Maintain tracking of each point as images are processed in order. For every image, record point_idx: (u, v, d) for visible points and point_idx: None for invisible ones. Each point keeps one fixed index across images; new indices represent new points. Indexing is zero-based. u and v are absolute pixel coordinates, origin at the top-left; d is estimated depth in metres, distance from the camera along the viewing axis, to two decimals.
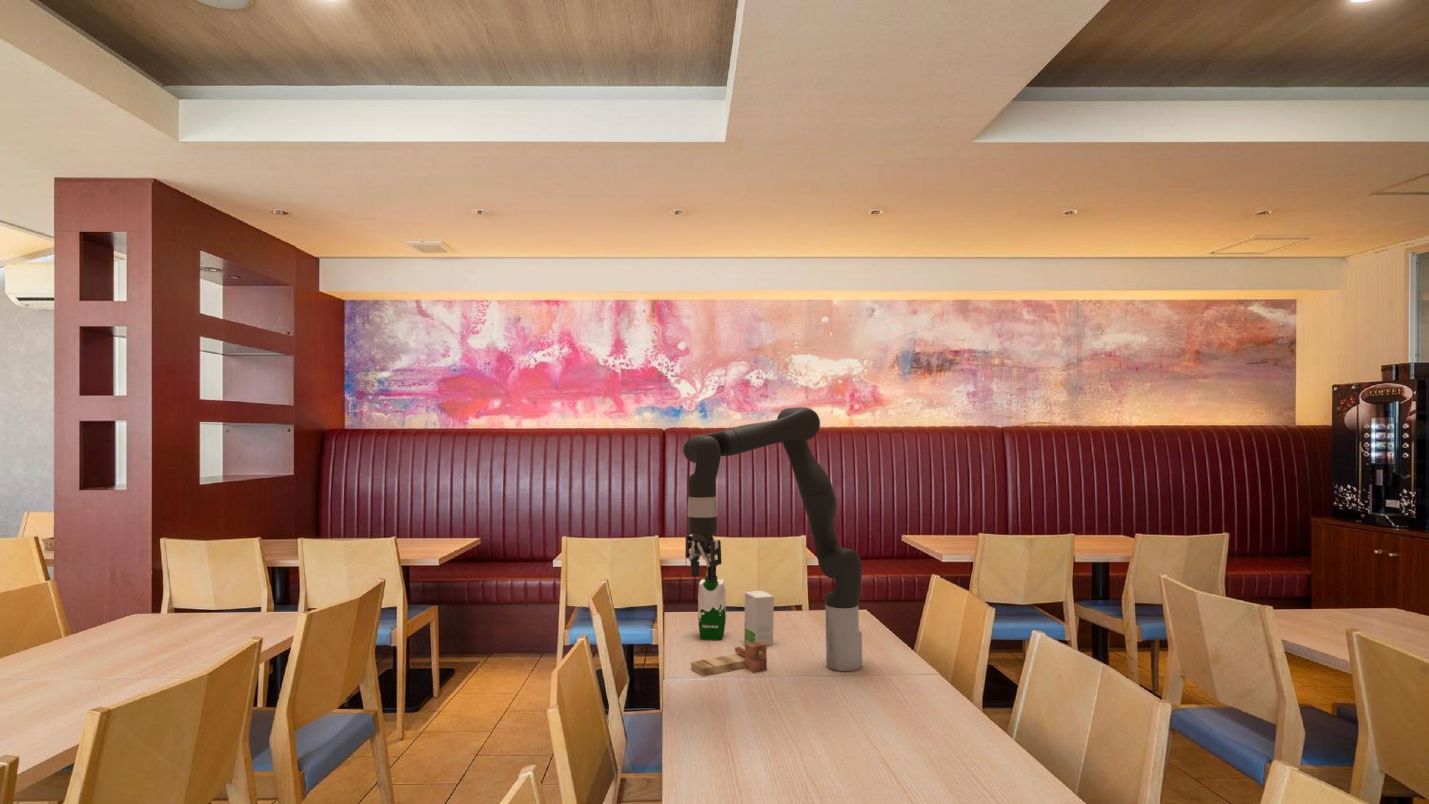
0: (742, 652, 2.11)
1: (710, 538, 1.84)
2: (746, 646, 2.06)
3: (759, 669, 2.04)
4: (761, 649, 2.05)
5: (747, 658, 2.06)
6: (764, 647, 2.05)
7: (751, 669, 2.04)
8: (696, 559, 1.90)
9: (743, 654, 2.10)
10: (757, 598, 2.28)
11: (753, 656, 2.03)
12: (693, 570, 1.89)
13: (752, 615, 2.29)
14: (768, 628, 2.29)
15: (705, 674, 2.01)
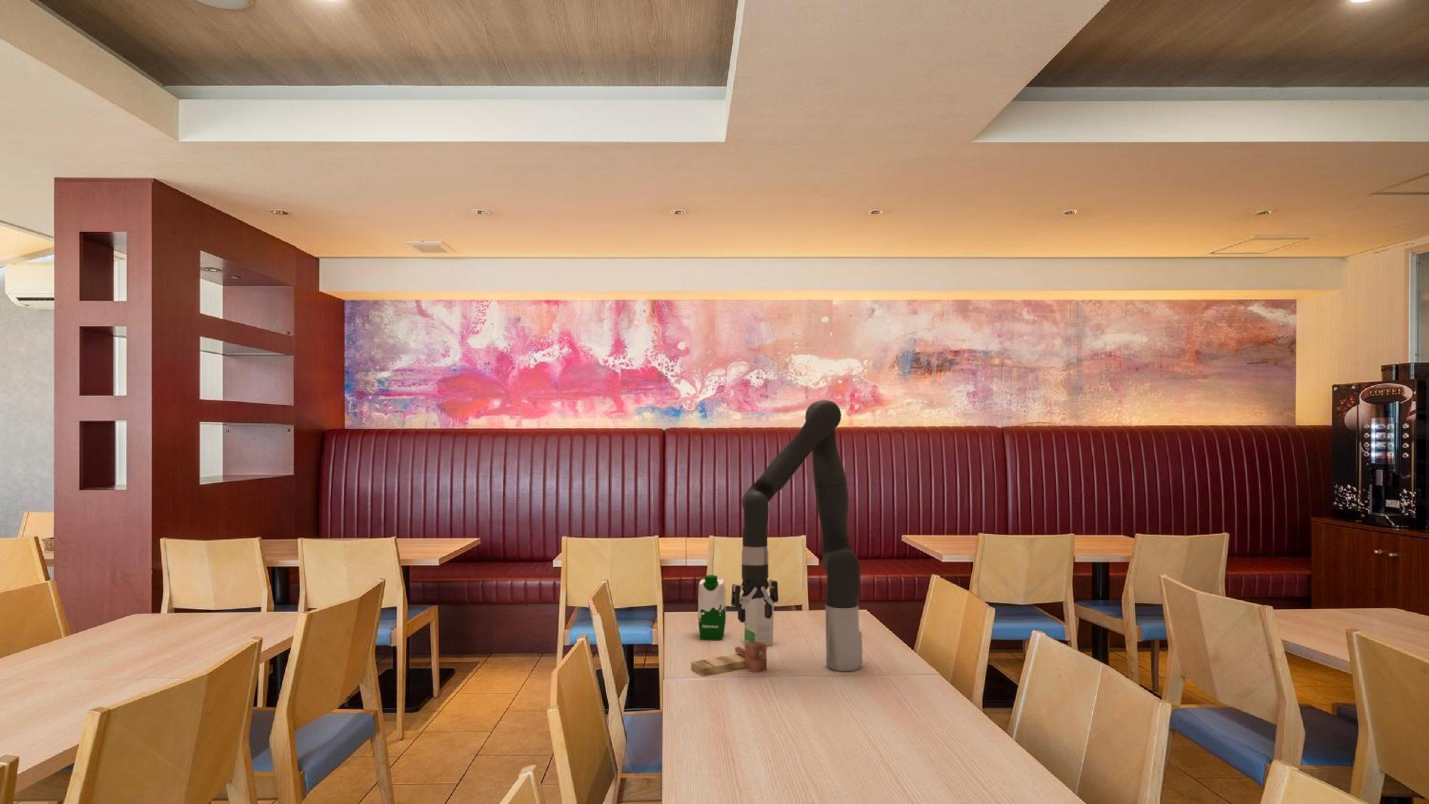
0: (742, 652, 2.11)
1: None
2: (746, 646, 2.06)
3: (759, 669, 2.04)
4: (761, 649, 2.05)
5: (747, 658, 2.06)
6: (764, 647, 2.05)
7: (751, 669, 2.04)
8: None
9: (743, 654, 2.10)
10: (757, 598, 2.28)
11: (753, 656, 2.03)
12: None
13: (752, 615, 2.29)
14: (768, 628, 2.29)
15: (705, 674, 2.01)
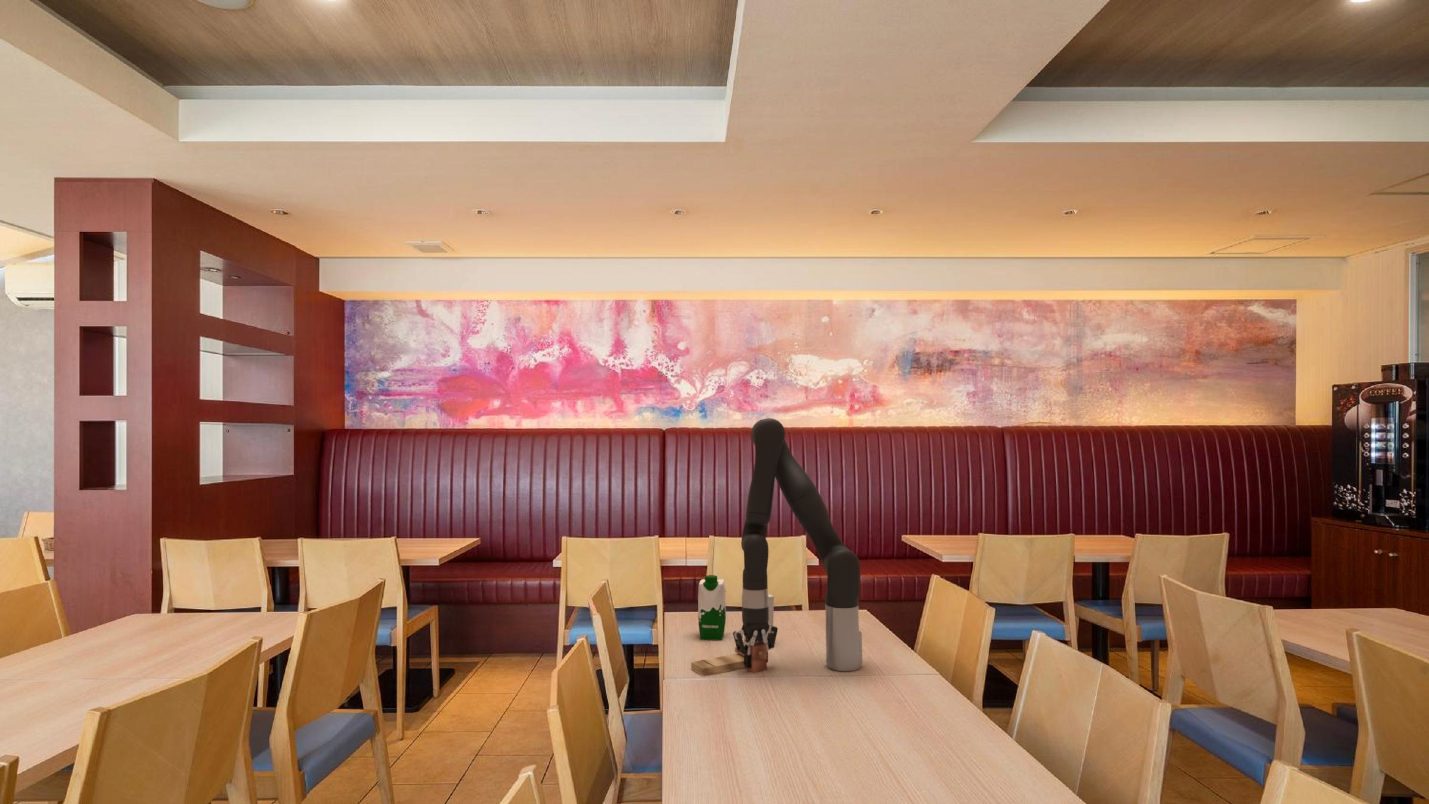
0: None
1: None
2: None
3: (759, 669, 2.04)
4: (761, 649, 2.05)
5: None
6: (764, 647, 2.05)
7: (751, 669, 2.04)
8: None
9: (743, 654, 2.10)
10: None
11: (753, 656, 2.03)
12: None
13: None
14: None
15: (705, 674, 2.01)
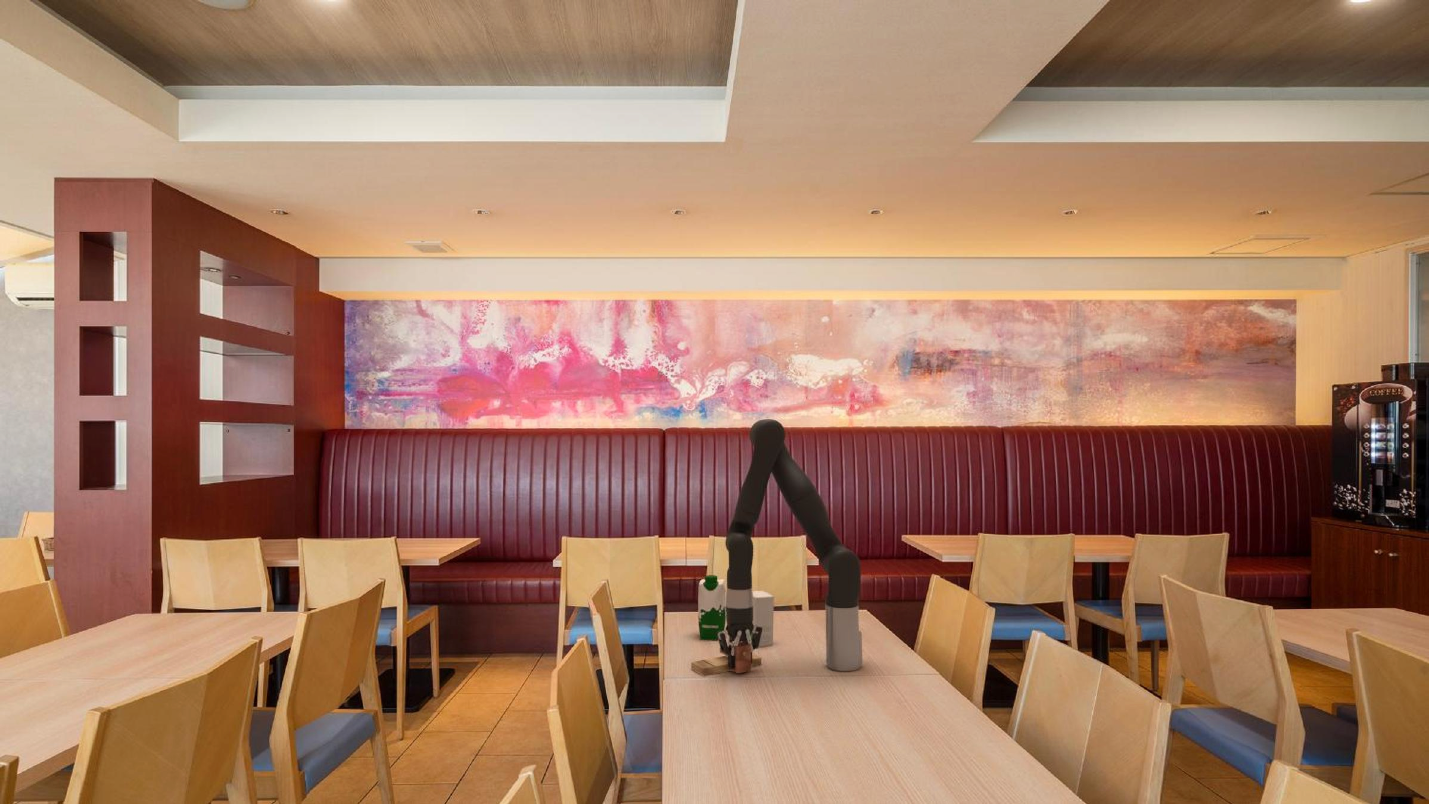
0: None
1: None
2: None
3: (743, 669, 2.02)
4: (745, 649, 2.02)
5: None
6: (748, 648, 2.03)
7: (735, 669, 2.02)
8: None
9: (727, 654, 2.08)
10: (757, 598, 2.28)
11: (737, 657, 2.01)
12: None
13: None
14: (768, 628, 2.29)
15: (705, 674, 2.01)
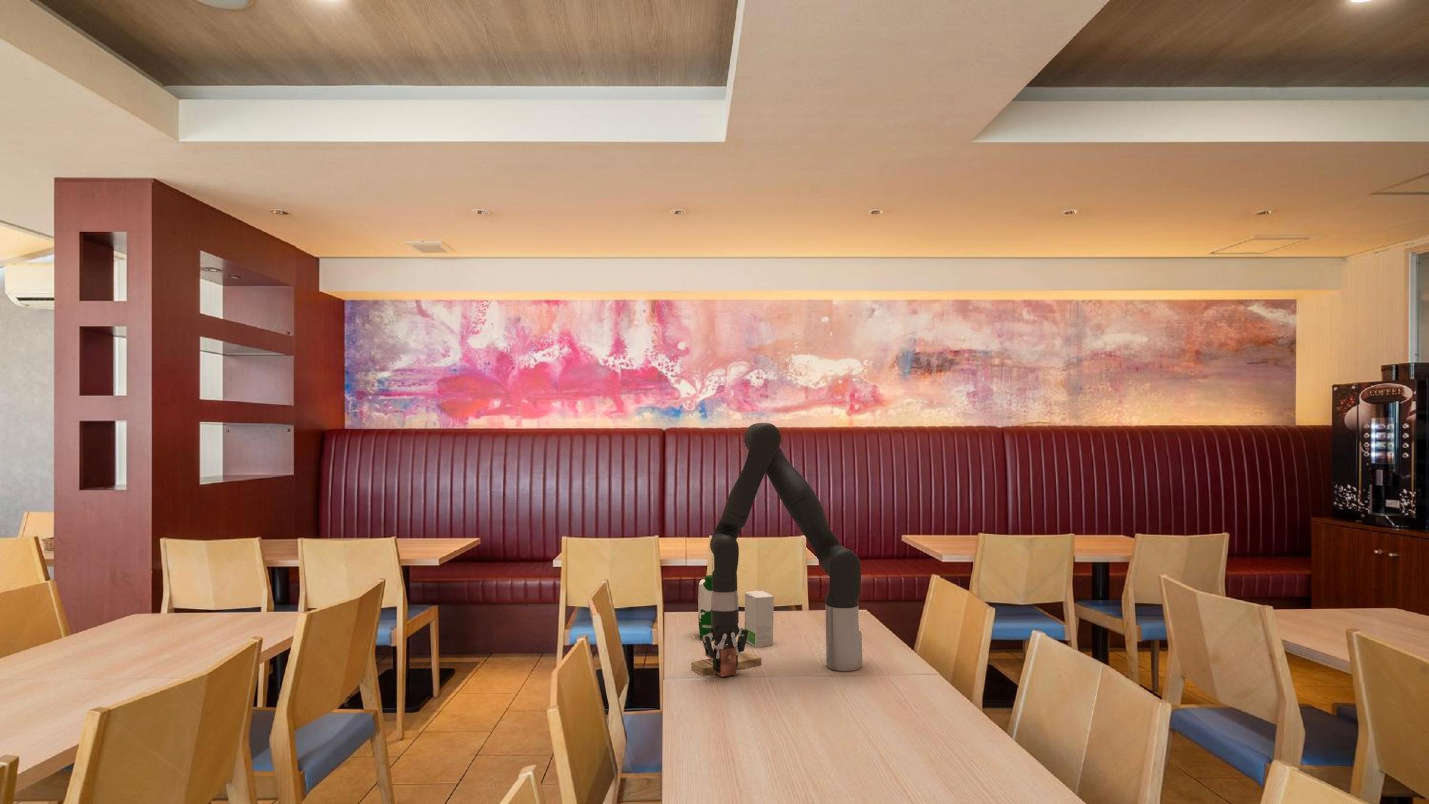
0: None
1: None
2: None
3: (728, 673, 1.99)
4: (730, 652, 2.00)
5: None
6: (733, 651, 2.00)
7: (720, 673, 1.99)
8: None
9: None
10: (757, 598, 2.28)
11: (722, 660, 1.98)
12: None
13: (752, 615, 2.29)
14: (768, 628, 2.29)
15: (705, 674, 2.01)
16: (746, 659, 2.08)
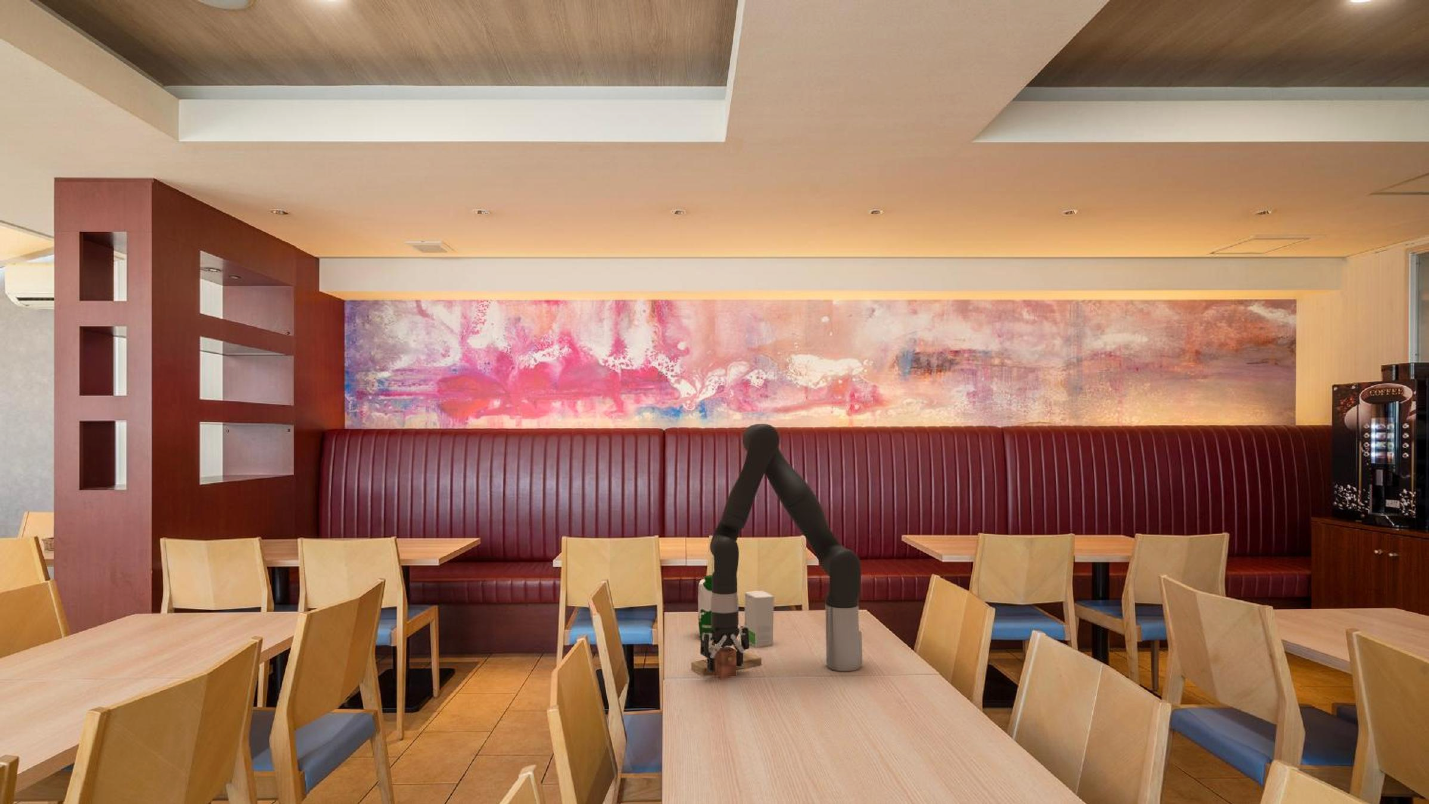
0: None
1: None
2: None
3: (728, 675, 1.99)
4: (731, 655, 2.00)
5: (716, 664, 2.01)
6: (733, 653, 2.00)
7: (720, 675, 1.99)
8: None
9: None
10: (757, 598, 2.28)
11: (722, 662, 1.98)
12: None
13: (752, 615, 2.29)
14: (768, 628, 2.29)
15: (705, 674, 2.01)
16: (746, 659, 2.08)
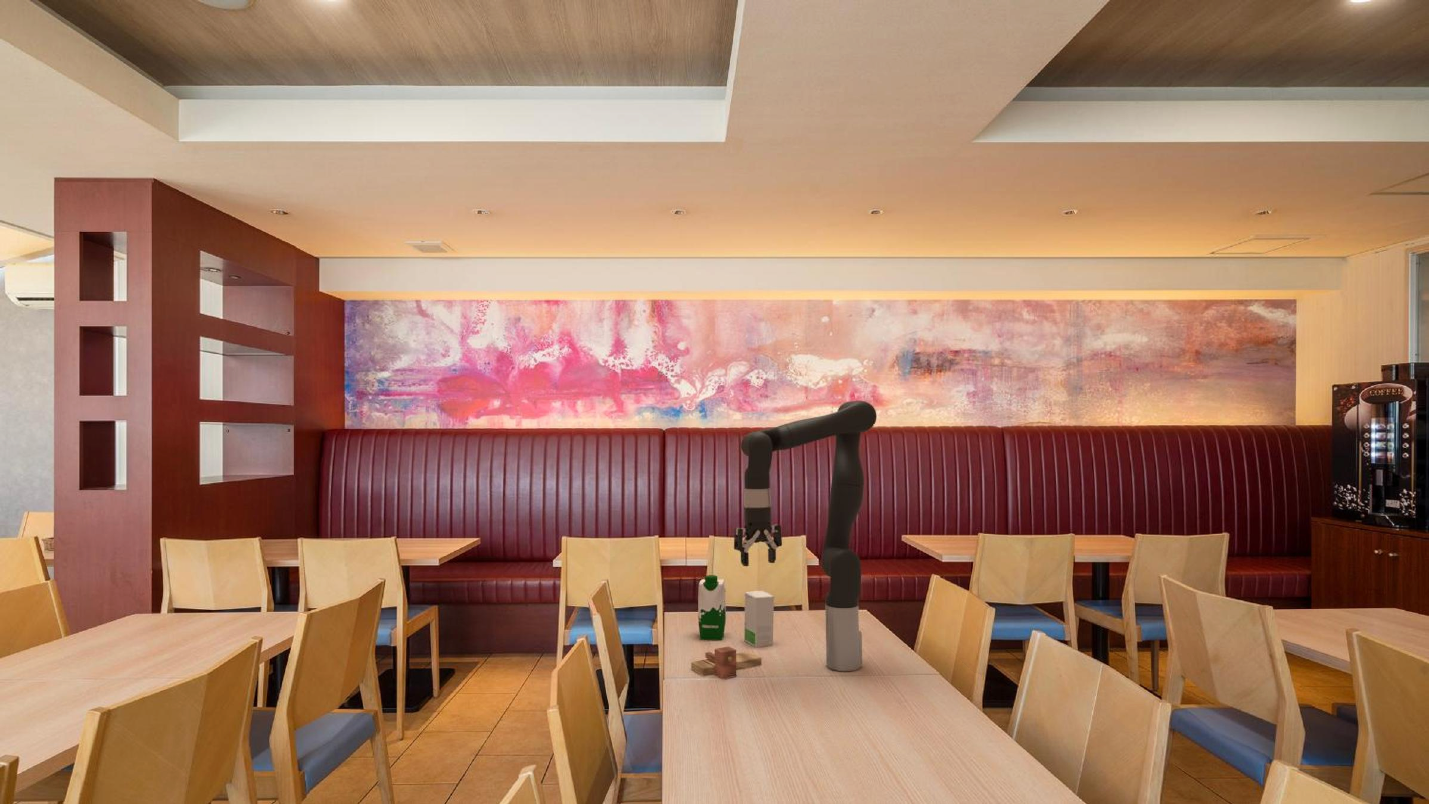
0: (712, 658, 2.06)
1: None
2: (715, 652, 2.01)
3: (728, 675, 1.99)
4: (731, 655, 2.00)
5: (716, 664, 2.01)
6: (733, 653, 2.00)
7: (720, 675, 1.99)
8: None
9: (713, 660, 2.05)
10: (757, 598, 2.28)
11: (722, 662, 1.98)
12: None
13: (752, 615, 2.29)
14: (768, 628, 2.29)
15: (705, 674, 2.01)
16: (746, 659, 2.08)
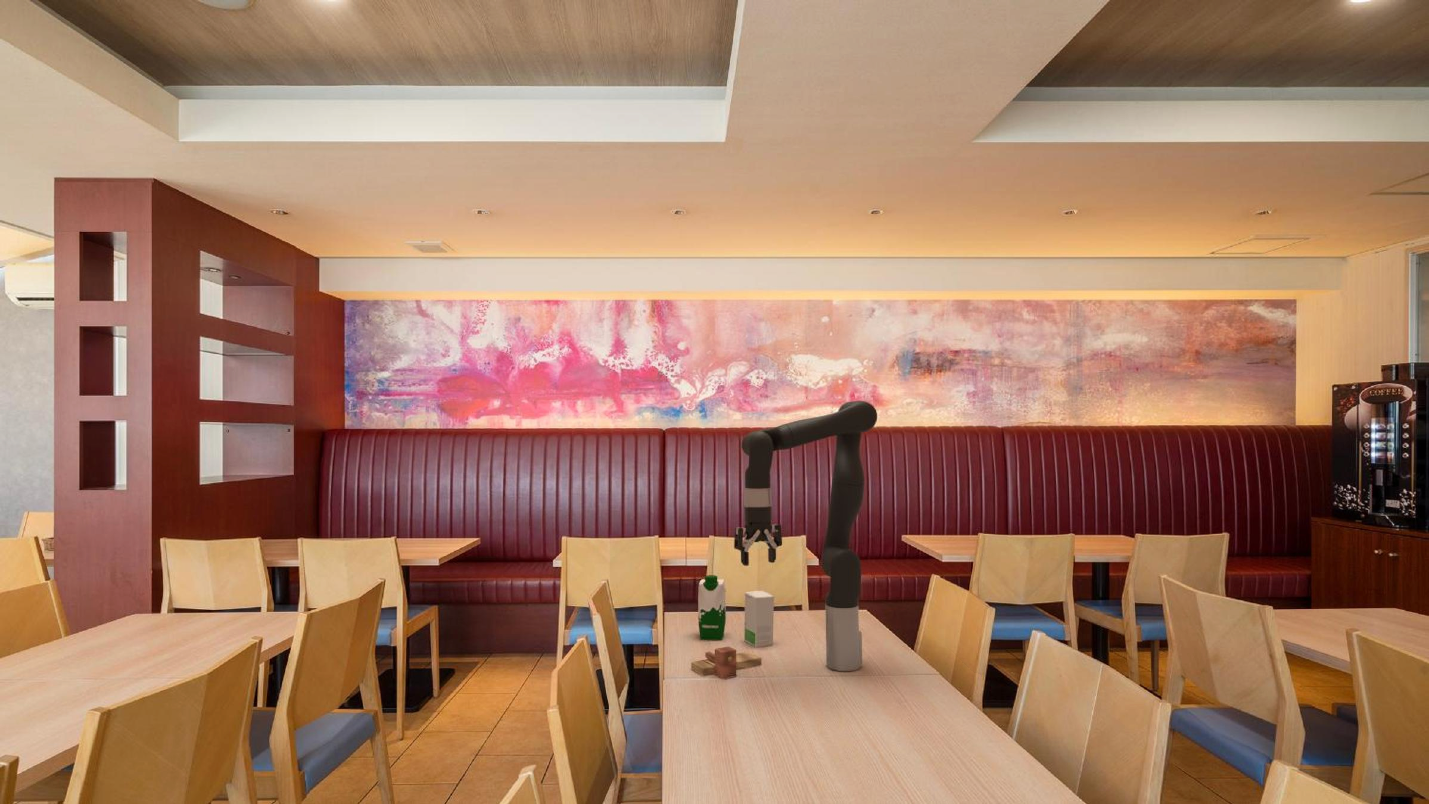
0: (712, 657, 2.06)
1: None
2: (715, 651, 2.01)
3: (728, 675, 1.99)
4: (731, 655, 2.00)
5: (716, 664, 2.01)
6: (733, 653, 2.00)
7: (720, 675, 1.99)
8: None
9: (713, 660, 2.05)
10: (757, 598, 2.28)
11: (722, 662, 1.98)
12: None
13: (752, 615, 2.29)
14: (768, 628, 2.29)
15: (705, 674, 2.01)
16: (746, 659, 2.08)
